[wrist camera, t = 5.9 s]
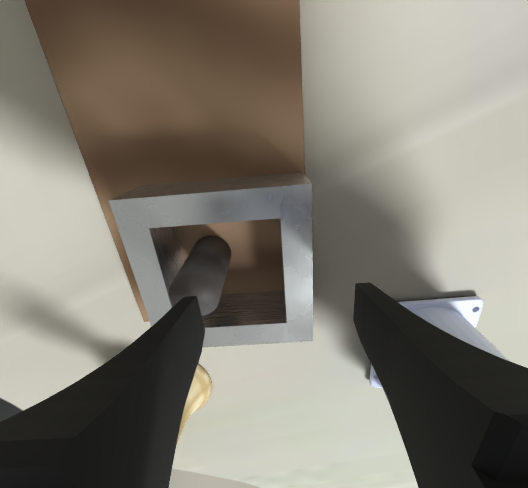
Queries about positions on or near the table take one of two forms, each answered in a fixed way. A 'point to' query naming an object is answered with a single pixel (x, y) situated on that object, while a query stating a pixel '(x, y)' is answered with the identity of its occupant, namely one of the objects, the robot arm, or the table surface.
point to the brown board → (183, 115)
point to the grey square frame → (219, 211)
